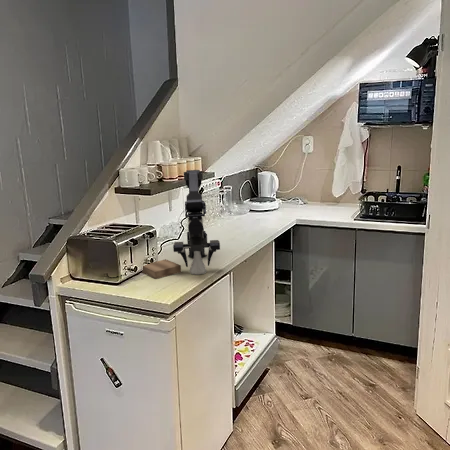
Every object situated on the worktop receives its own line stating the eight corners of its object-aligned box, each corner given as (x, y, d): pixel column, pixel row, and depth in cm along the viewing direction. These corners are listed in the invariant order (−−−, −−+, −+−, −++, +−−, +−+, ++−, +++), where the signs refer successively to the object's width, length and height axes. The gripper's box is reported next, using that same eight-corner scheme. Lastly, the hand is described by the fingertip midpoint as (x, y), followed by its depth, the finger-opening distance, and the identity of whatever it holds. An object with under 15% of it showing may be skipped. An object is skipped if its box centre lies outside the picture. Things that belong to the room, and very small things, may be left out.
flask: (206, 269, 191) (205, 246, 189) (206, 274, 184) (205, 251, 182) (189, 270, 191) (188, 247, 188) (188, 275, 184) (187, 251, 181)
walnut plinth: (166, 265, 197) (165, 259, 197) (181, 272, 188) (180, 265, 187) (141, 272, 190) (140, 265, 189) (155, 279, 181) (155, 271, 180)
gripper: (171, 234, 175) (174, 273, 178) (220, 232, 176) (221, 271, 179) (173, 228, 186) (175, 265, 189) (218, 226, 187) (220, 262, 190)
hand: (197, 266), depth 187 cm, fingers open, 8 cm apart
